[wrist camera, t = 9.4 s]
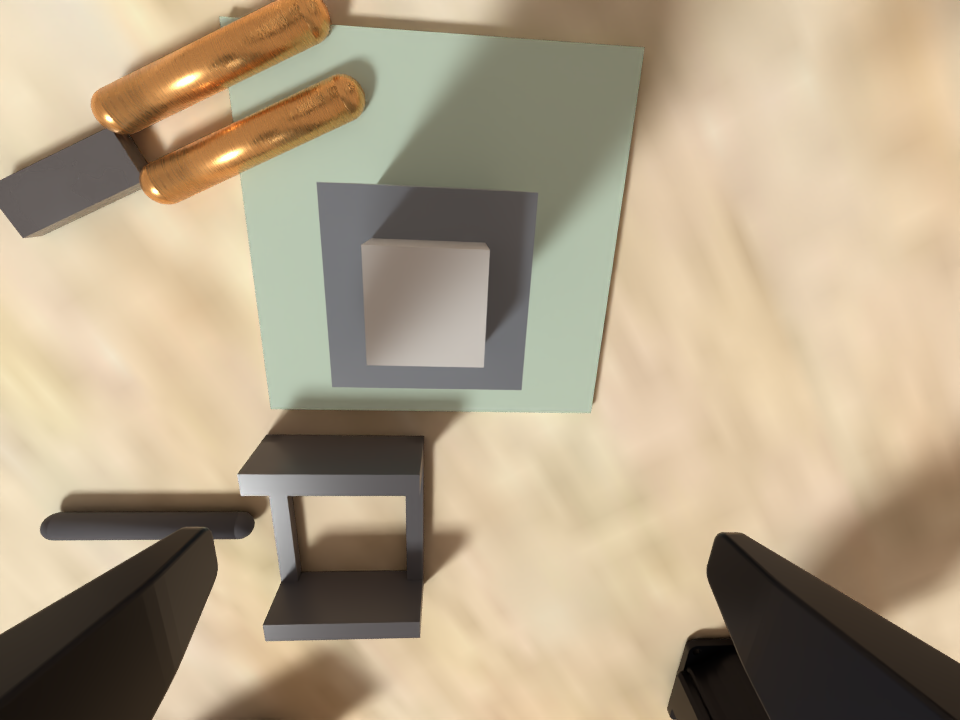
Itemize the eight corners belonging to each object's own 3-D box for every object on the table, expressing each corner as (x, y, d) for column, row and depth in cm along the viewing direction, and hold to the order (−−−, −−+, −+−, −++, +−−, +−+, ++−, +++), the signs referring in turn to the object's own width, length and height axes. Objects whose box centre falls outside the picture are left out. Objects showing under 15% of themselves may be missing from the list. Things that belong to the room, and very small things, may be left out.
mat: (640, 50, 16) (644, 47, 16) (588, 409, 21) (590, 413, 20) (224, 20, 15) (219, 16, 15) (274, 404, 20) (270, 409, 19)
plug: (499, 189, 17) (549, 193, 8) (493, 307, 18) (529, 413, 10) (377, 183, 17) (297, 181, 8) (380, 304, 18) (318, 410, 10)
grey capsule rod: (256, 506, 22) (246, 523, 21) (260, 526, 22) (249, 544, 21) (51, 506, 21) (29, 524, 20) (58, 527, 21) (36, 546, 20)
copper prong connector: (321, -9, 15) (309, -28, 13) (375, 114, 16) (368, 107, 15) (-16, 159, 16) (-58, 157, 15) (60, 260, 17) (29, 267, 16)
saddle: (423, 436, 21) (419, 475, 18) (423, 585, 24) (420, 637, 21) (266, 434, 20) (237, 474, 18) (287, 587, 24) (265, 641, 21)
